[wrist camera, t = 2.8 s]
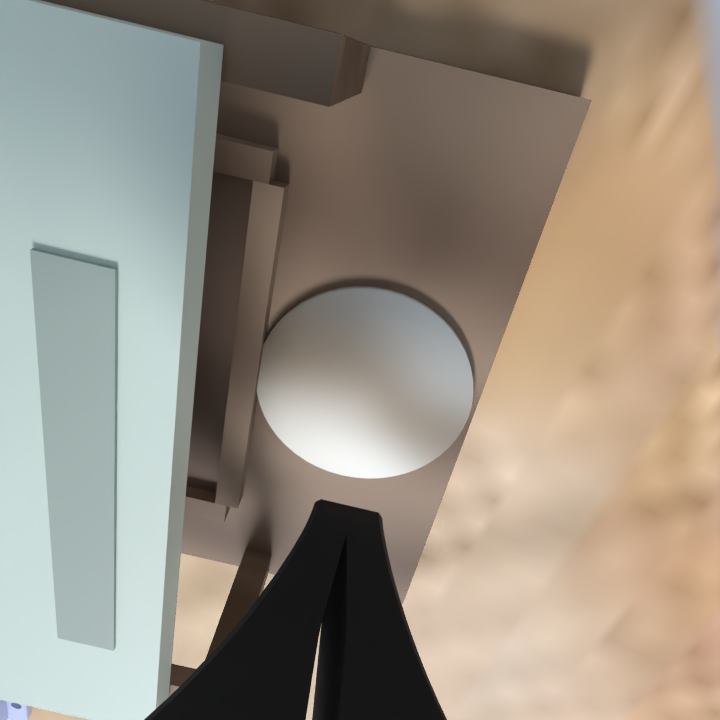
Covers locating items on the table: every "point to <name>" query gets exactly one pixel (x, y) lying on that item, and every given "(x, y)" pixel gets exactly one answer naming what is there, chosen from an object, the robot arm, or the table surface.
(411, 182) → the puzzle board
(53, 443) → the slide cover
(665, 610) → the table surface
